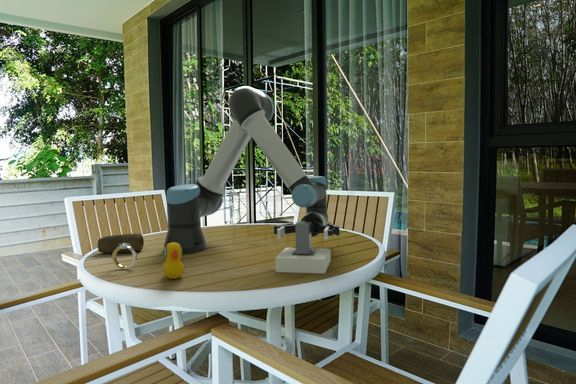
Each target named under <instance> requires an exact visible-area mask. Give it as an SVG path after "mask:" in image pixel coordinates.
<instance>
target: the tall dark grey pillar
mask: <svg viewBox="0 0 576 384" xmlns="http://www.w3.org/2000/svg"><path fill="white" fill-rule="evenodd" d="M294 224H295V230H296V233H295V248H296V255H299V256H312V248H313V247H312V246H313V245H312V237H311V222H300V221H296V222H295V223H294Z"/></svg>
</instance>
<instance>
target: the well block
mask: <svg viewBox="0 0 576 384" xmlns="http://www.w3.org/2000/svg"><path fill="white" fill-rule="evenodd" d="M274 262H275V273H298V274H299V273H301V274H326V272H327V269H328V268H329V265H330V264H331V248H324V247H323V248H319V247H316V248H315V247H314V248H313V247H312V256H299V255H296V247H285V248H284V249H283V250H282V251H281V252H280V253H279V254H278V255H277V256H275V261H274ZM329 263H330V264H329Z"/></svg>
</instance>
